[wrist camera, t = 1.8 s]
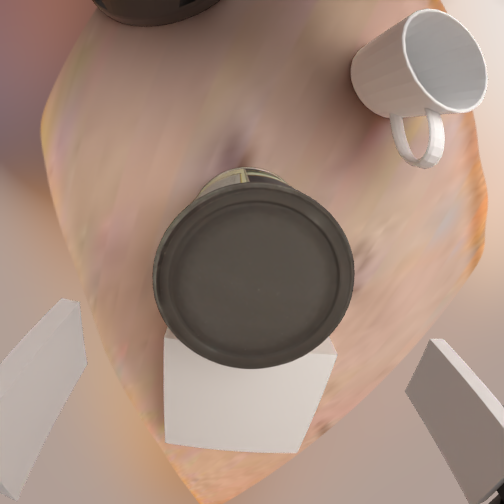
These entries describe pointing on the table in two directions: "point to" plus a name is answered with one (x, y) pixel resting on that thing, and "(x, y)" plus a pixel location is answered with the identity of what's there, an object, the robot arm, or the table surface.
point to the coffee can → (253, 272)
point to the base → (241, 400)
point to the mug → (421, 77)
